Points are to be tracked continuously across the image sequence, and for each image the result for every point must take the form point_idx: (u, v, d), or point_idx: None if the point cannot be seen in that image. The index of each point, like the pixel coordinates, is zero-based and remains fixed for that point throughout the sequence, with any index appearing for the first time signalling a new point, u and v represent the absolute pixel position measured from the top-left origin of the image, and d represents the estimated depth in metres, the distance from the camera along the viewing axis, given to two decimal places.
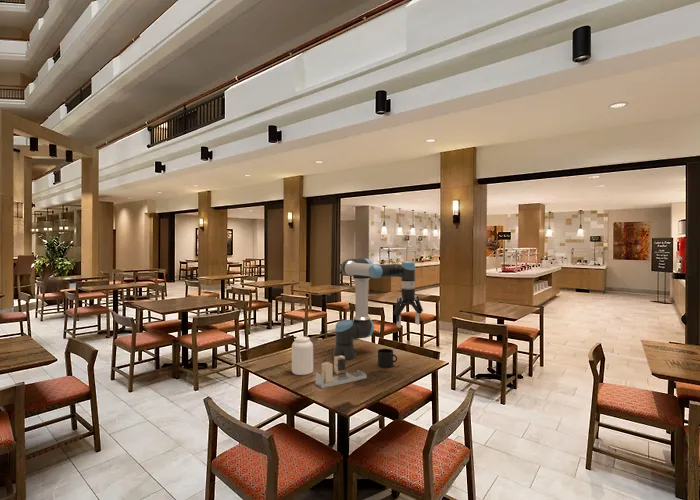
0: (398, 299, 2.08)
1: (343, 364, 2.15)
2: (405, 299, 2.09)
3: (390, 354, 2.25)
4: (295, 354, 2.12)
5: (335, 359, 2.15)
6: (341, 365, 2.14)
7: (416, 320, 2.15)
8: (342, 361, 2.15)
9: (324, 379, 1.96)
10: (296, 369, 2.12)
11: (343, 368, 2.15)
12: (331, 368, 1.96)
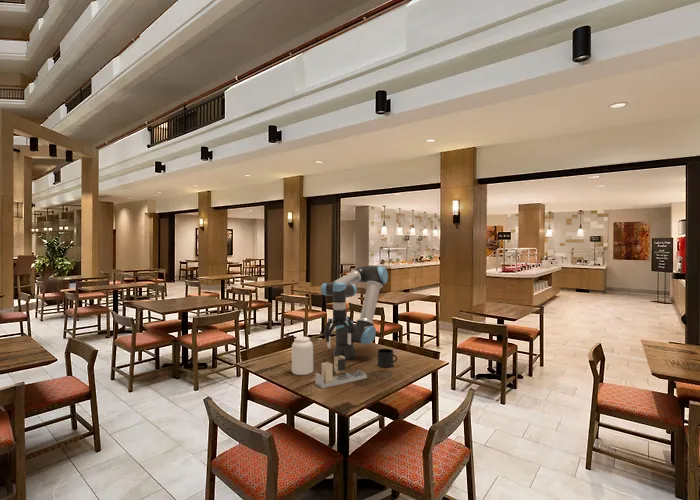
0: (328, 320, 2.13)
1: (343, 364, 2.15)
2: (335, 320, 2.14)
3: (390, 354, 2.25)
4: (295, 354, 2.12)
5: (335, 359, 2.15)
6: (341, 365, 2.14)
7: (348, 340, 2.20)
8: (342, 361, 2.15)
9: (324, 379, 1.96)
10: (296, 369, 2.12)
11: (343, 368, 2.15)
12: (331, 368, 1.96)
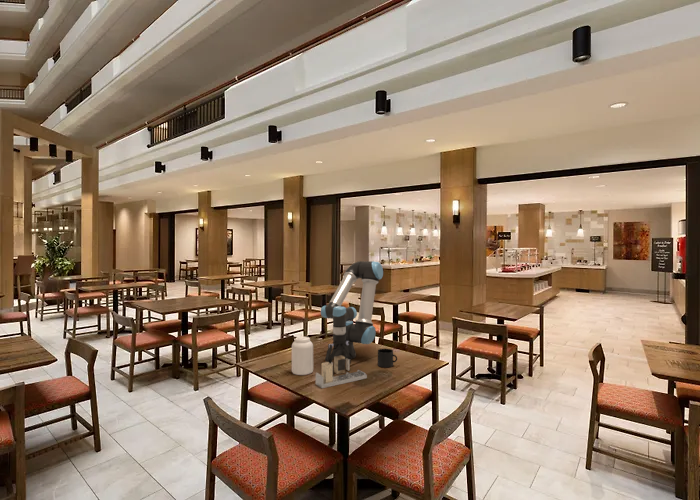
0: (328, 346, 2.13)
1: (343, 364, 2.15)
2: (336, 344, 2.14)
3: (390, 354, 2.25)
4: (295, 354, 2.12)
5: (335, 359, 2.15)
6: (341, 365, 2.14)
7: (346, 366, 2.19)
8: (342, 361, 2.15)
9: (324, 379, 1.96)
10: (296, 369, 2.12)
11: (343, 368, 2.15)
12: (331, 368, 1.96)
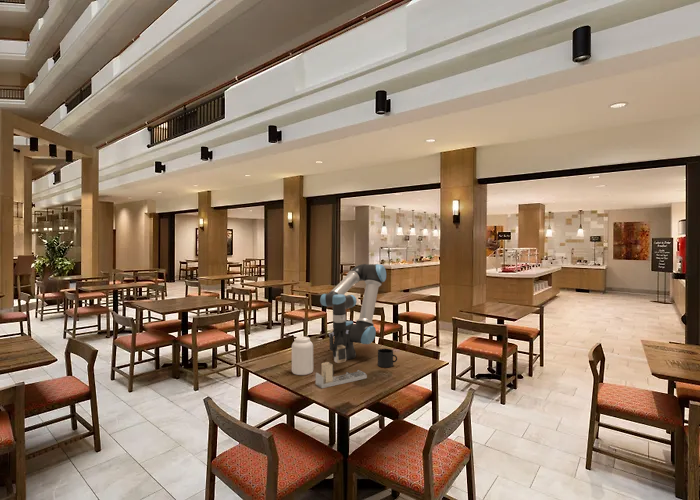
0: (329, 335, 2.13)
1: (343, 353, 2.15)
2: (336, 332, 2.14)
3: (390, 354, 2.25)
4: (295, 354, 2.12)
5: None
6: (341, 354, 2.14)
7: None
8: (342, 350, 2.15)
9: (324, 379, 1.96)
10: (296, 369, 2.12)
11: (344, 357, 2.15)
12: (331, 368, 1.96)
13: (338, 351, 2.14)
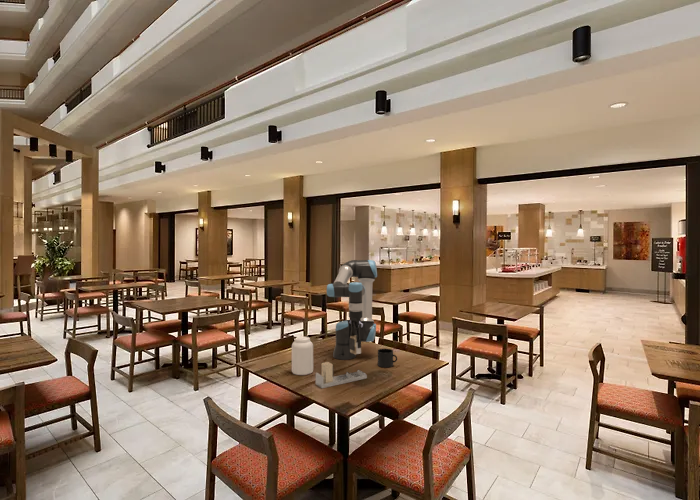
0: None
1: (352, 344, 2.04)
2: (351, 320, 2.08)
3: (390, 354, 2.25)
4: (295, 354, 2.12)
5: None
6: (351, 344, 2.06)
7: None
8: (352, 341, 2.05)
9: (324, 379, 1.96)
10: (296, 369, 2.12)
11: (352, 348, 2.04)
12: (331, 368, 1.96)
13: None
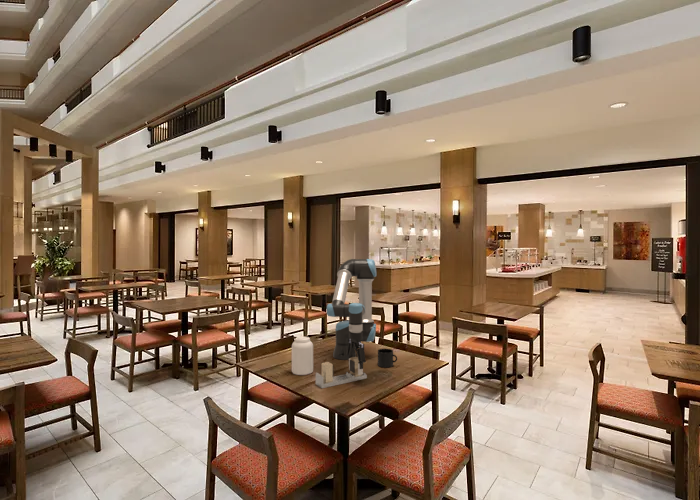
0: None
1: (352, 366, 2.05)
2: (351, 341, 2.09)
3: (390, 354, 2.25)
4: (295, 354, 2.12)
5: None
6: (351, 366, 2.06)
7: None
8: (352, 363, 2.05)
9: (324, 379, 1.96)
10: (296, 369, 2.12)
11: (352, 370, 2.05)
12: (331, 368, 1.96)
13: None
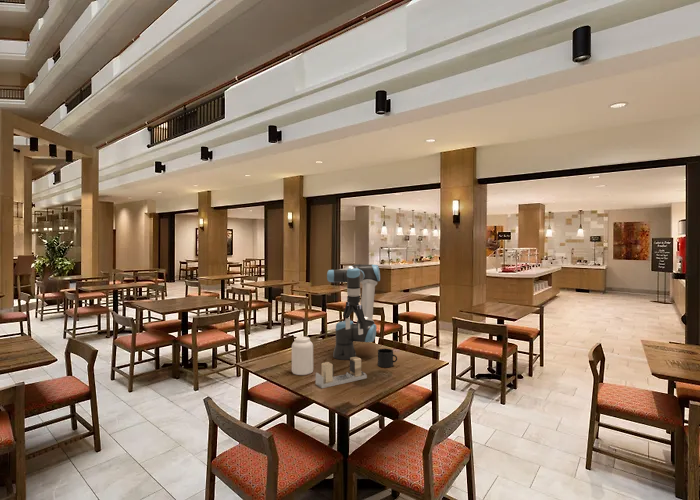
0: None
1: (352, 366, 2.05)
2: None
3: (390, 354, 2.25)
4: (295, 354, 2.12)
5: None
6: (351, 366, 2.06)
7: None
8: (352, 363, 2.05)
9: (324, 379, 1.96)
10: (296, 369, 2.12)
11: (352, 370, 2.05)
12: (331, 368, 1.96)
13: None
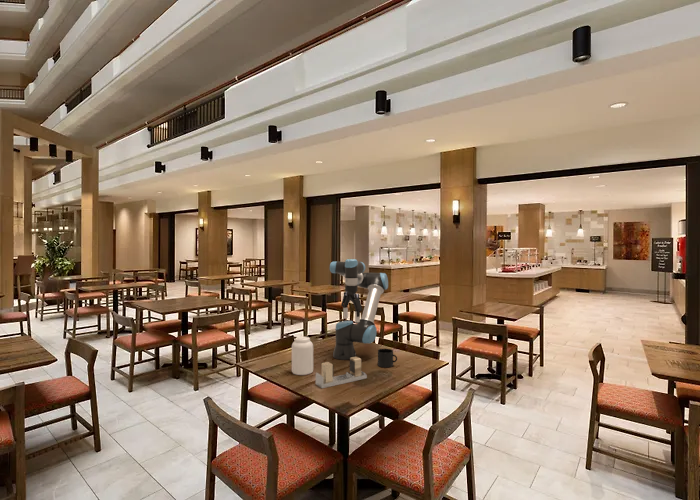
0: None
1: (352, 366, 2.05)
2: (347, 294, 2.26)
3: (390, 354, 2.25)
4: (295, 354, 2.12)
5: None
6: (351, 366, 2.06)
7: None
8: (352, 363, 2.05)
9: (324, 379, 1.96)
10: (296, 369, 2.12)
11: (352, 370, 2.05)
12: (331, 368, 1.96)
13: None
